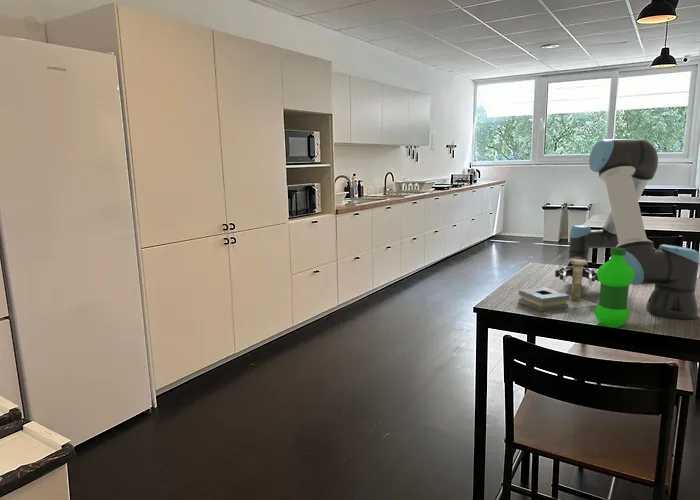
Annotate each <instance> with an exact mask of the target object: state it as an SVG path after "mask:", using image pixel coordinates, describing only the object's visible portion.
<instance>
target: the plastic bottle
mask: <svg viewBox="0 0 700 500" xmlns="http://www.w3.org/2000/svg"><path fill="white" fill-rule="evenodd" d="M609 249H610V251H609V254H610V255H612V259H608V260H607V261H606V262H604V263H603V264H602V265H600V266H599V267H598V269H597V278H598V280H599V281H598V282H600V289H599V298H598V305H596V308H595V309H594V316H595V318H596V319H597V321H598V322H599V323H600V324H601V325H602V326H603V327H607V328H616V329H617V328H619V327H621V326H623V325H625V324H626V323H627V322H628V319H629V318H630V312H629V311H630V310H629V308H628V296H629V289H630V286H631V285H632V282H633V280H634V277H635V272H634V269H633V268H632V267H631V266H630V265H629V264H628V263H626V262H625V261H624V260H623V255H625V254H626V249H624V248H617V247H613V248H609Z"/></svg>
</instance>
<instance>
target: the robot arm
mask: <svg viewBox="0 0 700 500" xmlns="http://www.w3.org/2000/svg"><path fill="white" fill-rule="evenodd" d="M588 159H589V160H588V164H589V168H590V170H591V171H592V172H595V173H598V176H599V180H600V181H602V182H604V183H605V187H606V191H607V196H608V200H609V205H610V209H611V210H610V211H609V213H608V216H607V218H606V220H605V222H604V225H603V227H602V229H592V228H591V226H590V225H582V224H580V225H579V224H576V225H575V224H574V225H573V226H571V228H570V232H569V243H568V244H569V247H568V255H567V256H568V257H567V265H566V267H565V266H562V265H559V266H558V268H556V270H555V271H554V273H555V274H554V276H555V278H559V280H560V281H562V283H566V278H567V277H573V264H571V260H574V259H578V260H585V261H586V265H583V272H582V278H586V279H588V285H589V286H592V283H593V282H595V281H596V282H600V281H599V280H598V278H597V271H598V269H597V268H593V269H591V270H590V269H589V265H588V263H589V262H588V260H589V254H590V253H589V251H590V249H605V248H606V249H607V248H608V249H611V248H613V247H617V248H624V249H626V254H625V255H623V260H624V261H625V262H626V263H628V264H629V265H630V266H631V267H632V268H633V269H634V272H635V277H634V280H633V282H632V284H631V285H633V286H638V285H654V286H653V287H654V288H653V291H652V292H651V295H650V296H649V298H648V301H647V302H646V305H645V306H646V307H645V310H646V311H648V312H649V313H651V314H653V315H657V316H658V317H659V316H660V317H664V318H670V319H677V320H692V319H697V318H699V312H700V309H699V306H698V301H697V297H696V287H697V278H698V274H699V273H698V272H699V266H700V253H699V251H697V250H695V249H692V248H688V247H684V246H678V245H672V244H671V245H670V244H660V245H659V247H658V249H655V245H654V241H652V240H650V239H648V237H647V234H646V230H645V226H644V221H643V217H642V213H641V208H640V204H639V200H640V198H641V196H642V194H643V192H644V190H645V188H646V186H647V184H648V182H650V181H651V180H653V179H654V177H655V174H656V173H657V169H658V165H659V156H658V152H657V150H656V148H655V146H654V145H653V144H652V143H651V142H650V141H647V140H646V139H641V138H634V139H633V138H631V139H630V138H628V139H627V138H625V139H624V138H623V139H622V138H617V139H615V138H609V139H600V140H599V141H597V142H596V143H595V144H594V146H593V147H592V148H591V152H590V155H589V158H588ZM610 255H611V256H610V259H612V254H610ZM610 259H609V260H610Z"/></svg>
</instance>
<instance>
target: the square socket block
mask: <svg viewBox="0 0 700 500" xmlns="http://www.w3.org/2000/svg"><path fill="white" fill-rule="evenodd" d="M569 295H570V294H567V293H564V292H561V291H558V290H555V289H553V288H549V287H546V286H543V287H533V288H524V289H519V290H518V296H520V297H518V301H517V302H518V304H519V305H522V306H524V307H527V308H530V309H532V310H534V311H537V312H539V313H545V312H549V311H554V310H556V311H557V310H562V309H569V308H570V307H569V304H568V303H567V300H569Z"/></svg>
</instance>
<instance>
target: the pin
mask: <svg viewBox="0 0 700 500" xmlns="http://www.w3.org/2000/svg"><path fill="white" fill-rule="evenodd" d="M571 264H573V277H572V276H571V277H572V279H571V288H570V289H571V290H570V295H571V301H574V302H579V301H580V298H581V292H582V282H583V281H582V279H583V277H582V272H583V265H586V261H585V260H578V259H574V260H571Z"/></svg>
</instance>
